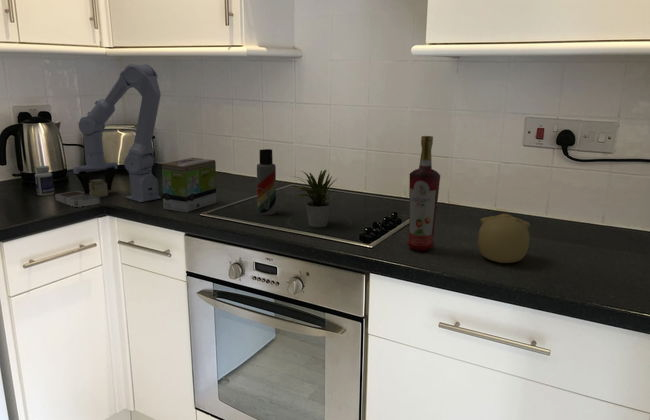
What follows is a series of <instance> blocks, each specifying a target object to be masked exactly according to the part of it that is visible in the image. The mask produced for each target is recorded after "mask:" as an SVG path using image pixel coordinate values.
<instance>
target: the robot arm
mask: <svg viewBox="0 0 650 420" xmlns="http://www.w3.org/2000/svg"><path fill="white" fill-rule="evenodd" d="M158 76H159V75H158V73H157V72H156V70H155V69H154V68H153V67H152V66H151V65H149V64H133V63H131V64H128V65H127V66H125V68H124V69H123V70H122V71H121V72H120V73H119V78H118V79H117V80H116V82H115V83H114V85H113V86H112V88H111V89H110V91H109V92H108V94H107V95H106V96H105V98H101V99H98V100H95V102H94V106H93V107H92V109H91V110H90V111H88V112H87V114H86V115H87V116H83V117H81V118H80V119H79V122H78V129H79V131H80V133H82V136H83V146H84V154H85V163H86V164H85V165H80V166H74V167H72V170H73V174H75V176H76V177H77V179H78V180H79V182H80V183H81V185H82V188H83V192H84V193H87V194H90V189H89V183H90V174H88V173H89V172H99V171H102V172H103V175H104V182H105V183H107V190H108V191H111V190H112V185H113V181H114V178H115V176H116V174H117V169H118V163H117V162H105V156H104V145H103V131H104V130H105V128H106V127H105V126H106V123H107V122H108V120H109V119H110V118H111V117H112V115H113V114H114V112H115V111H116V107H115V105H116V104H117V102H119V101H120V100H121V98H122V97H123V96H124V95H125V94H126V92H128V91H129V89H132V88H134V89H135V90H136V91H137V92H138V93H139V94H140V96H141V102H140V109H139V112H138V113H139V114H138V117H137V118H138V119H137V124H136V129H135V135H134V140H133V144H132V146H130V148H129V149H128V153H127V155H126V157H125V158H124V161H123V165H124V168H125V170H126V171H127V172H128V174H129V175H128V176H129V187H130V195H126V196H125V198H126V199H129V200H132V201H135V202H139V203H142V202H148V201H152V200H154V201H155V200H158V199H162V196H160V195H159V181H158V179H157V177H156V176H154V175H153V169H152V168H153V166H154V164H155V157H154V152H155V150H154V148H153V147H152V142H153V137H154V132H155V125H156V121H157V117H158V112H159V111H158V110H159V107H160V106H159V105H160V101H161V91H160V90H161V89H160V86H159V82H158Z"/></svg>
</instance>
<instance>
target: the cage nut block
mask: <svg viewBox="0 0 650 420" xmlns="http://www.w3.org/2000/svg"><path fill="white" fill-rule="evenodd" d="M89 189H90V195H93V196H96V197H99V198H102V197H109V190H107V183H105V179H101V178H97V179H89Z"/></svg>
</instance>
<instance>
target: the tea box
mask: <svg viewBox="0 0 650 420" xmlns="http://www.w3.org/2000/svg"><path fill="white" fill-rule="evenodd" d="M216 164H217V163H216V159H208V158H207V159H206V158H198V157H189V158H183V159H180V160H174V161H169V162H163V163H161V178H162V182H161V183H162V203H163V204H162V205H163V209H165V210H169V211H175V212H179V213H180V212H182V213H189V212H192V211H195V210H197V209H201V208H203V207H206V206H210V205H214V204H217V171H216V170H217V169H216V167H217V166H216Z"/></svg>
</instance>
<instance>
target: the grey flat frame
mask: <svg viewBox="0 0 650 420" xmlns="http://www.w3.org/2000/svg"><path fill="white" fill-rule="evenodd" d="M54 199H55V201H57V202H58V203H59V202H60V203H61V204H63V205H67V206H69V205H70V207H72V206H73V207H72V208H74V207H78V208H83V207H82V206H84V207H89V205H90V206H94V205H99V204H100V205H101V197H96V196H93V195H90V194H87V193H85V191H81V190H73V191H68V192H61V193H54Z"/></svg>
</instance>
